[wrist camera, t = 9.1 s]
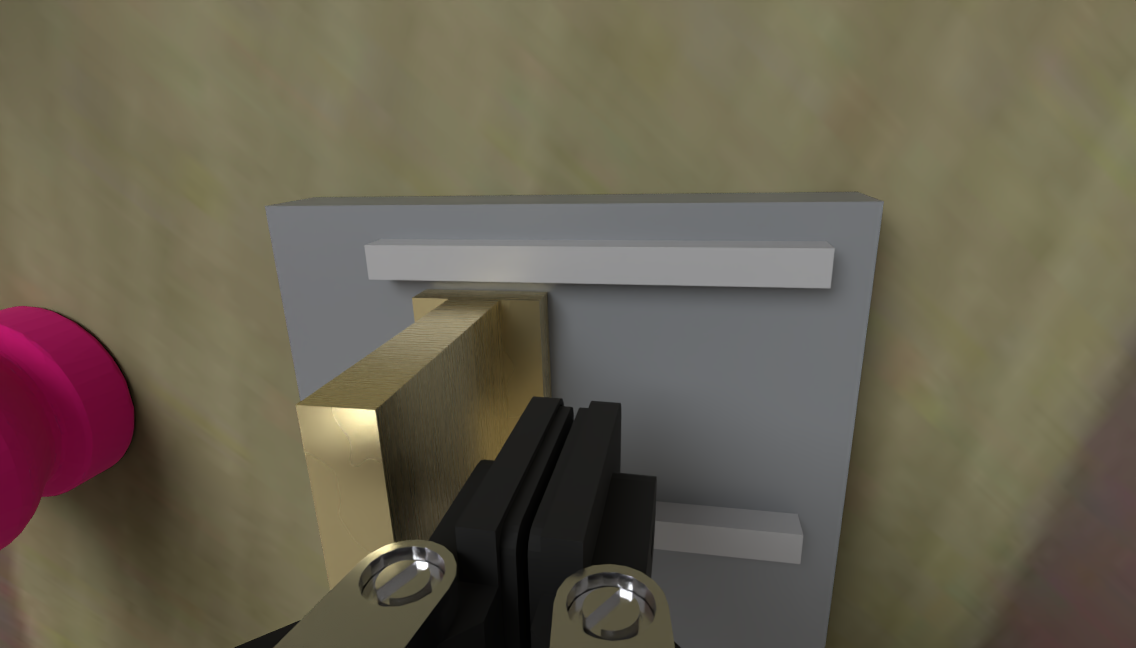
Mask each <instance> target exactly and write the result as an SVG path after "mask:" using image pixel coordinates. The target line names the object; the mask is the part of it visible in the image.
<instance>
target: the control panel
mask: <svg viewBox="0 0 1136 648" xmlns="http://www.w3.org/2000/svg"><path fill="white" fill-rule="evenodd" d="M883 203H884V201H881V200H878V199H875V198H873V197H870V196H867V195H865V194H862V193H859V192H798V193H701V194H604V195H508V196H411V197H315V198H308V199H302V200H297V201H291V202H285V203H280V204H274V205H268V206H265V209H266V215H267V220H268V225H269V231H270V236H271V242H272V247H273V253H274V258H275V264H276V269H277V275H278V280H279V286H280V291H281V297H282V302H283V308H284V313H285V318H286V324H287V329H288V335H289V340H290V346H291V351H292V357H293V362H294V368H295V373H296V379H297V384H298V390H299V395H300V400H301V401H302V400H304V399H305V398H306V397H308V396H309V395H311V394H312V393H314V392H315V391H317V390H318V389H319V388H321V387H322V386H324V385H325V384H327V383H328V382H329V381H331V380H332V379H334V378H335V377H337V376H338V375H340V374H341V373H342V372H344V371H345V370H347V369H348V368H350V367H351V366H353V365H354V364H355V363H357V362H358V361H360V360H361V359H363V358H364V357H366V356H367V355H368V354H370V353H371V352H373V351H374V350H376V349H377V348H379V347H380V346H381V345H383V344H384V343H386V342H387V341H389V340H390V339H392V338H393V337H394V336H396V335H397V334H399V333H400V332H402V331H403V330H405V329H406V328H407V327H409V326H410V325H412V324H413V323H415V320H414V312H413V303H412V298H413V297H414V296H416V295H418V294H419V293H421V292H423V291H424V290H426V289H444V290H488V291H533V292H548V317H549V341H550V365H551V390H552V398H562V399H563V402H564V406H567V407H573V411H574V419H575V417H576V414H577V412H578V409H579V408H580V407H581V408H589V405H590V402H591V401H603V402H616V403H621V468H620V473H628V474H638V475H648V476H657V491H656V515H655V535H654V550H653V563H652V574H651V579H653V580H654V581H655V582H656V583H657V584H658V586H659V587H660V588H661V589H662V591H663V592H664V594H665V597H666V600H667V602H668V605H669V611H670V618H671V625H672V631H673V638H674V642H675V643H677V644H678V645H679V646H680V647H681V648H825V644H826V637H827V629H828V621H829V614H830V606H831V599H832V591H833V583H834V576H835V568H836V560H837V553H838V545H839V538H840V530H841V522H842V515H843V507H844V500H845V492H846V484H847V477H848V469H849V462H850V454H851V446H852V439H853V431H854V424H855V416H856V408H857V401H858V393H859V386H860V378H861V370H862V363H863V355H864V348H865V340H866V332H867V325H868V317H869V310H870V302H871V294H872V287H873V279H874V271H875V264H876V256H877V249H878V241H879V233H880V226H881V218H882V211H883Z"/></svg>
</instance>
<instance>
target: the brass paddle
mask: <svg viewBox="0 0 1136 648" xmlns="http://www.w3.org/2000/svg"><path fill="white" fill-rule="evenodd" d="M412 303H413V312H414V320H415V323H413V324H412V325H410V326H409V327H407V328H406V329H405V330H403V331H402V332H400V333H399V334H397V335H396V336H394V337H393V338H392V339H390V340H389V341H387V342H386V343H384V344H383V345H381V346H380V347H379V348H377V349H376V350H374V351H373V352H371V353H370V354H368V355H367V356H366V357H364V358H363V359H361V360H360V361H358V362H357V363H355V364H354V365H353V366H351V367H350V368H348V369H347V370H345V371H344V372H342V373H341V374H340V375H338V376H337V377H335V378H334V379H332V380H331V381H329V382H328V383H327V384H325V385H324V386H322V387H321V388H319V389H318V390H317V391H315V392H314V393H312V394H311V395H309V396H308V397H306V398H305V399H304V400H302V401H301V402H299V403H298V404H296V409H297V414H298V420H299V425H300V430H301V436H302V441H303V447H304V452H305V457H306V463H307V468H308V473H309V479H310V484H311V490H312V495H313V500H314V506H315V511H316V516H317V522H318V527H319V533H320V538H321V543H322V549H323V554H324V559H325V565H326V570H327V576H328V581H329V586H330V591H331V590H332V589H333V588H334V587H335V586H336V585H337V584H338V583H339V582H340V581H341V580H342V579H343V578H344V577H345V576H346V575H347V574H348V573H349V572H350V571H351V570H352V569H353V568H354V567H355V566H356V565H357V564H358V563H359V562H360V561H361V560H362V559H364V558H365V557H366V556H367V555H369V554H370V553H371V552H373V551H375V550H377V549H379V548H381V547H383V546H385V545H389V544H392V543H396V542H399V541H406V540H417V539H418V540H426V541H428V540H429V539H430V537H431V535H432V534H433V532H434V531H435V529H436V528H437V526H438V524H439V523H440V521H441V520H442V518H443V517H444V515H445V514H446V512H447V510H448V509H449V507H450V506H451V504H452V503H453V501H454V500H455V498H456V496H457V495H458V493H459V492H460V490H461V489H462V487H463V486H464V484H465V482H466V481H467V479H468V478H469V476H470V475H471V473H472V472H473V470H474V468H475V467H476V465H477V464H478V463H479V462H480V461H481V460H484V459H485V460H495V459H496V457H497V455H498V454H499V452H500V450H501V449H502V447H503V445H504V444H505V442H506V440H507V439H508V437H509V435H510V434H511V432H512V430H513V429H514V427H515V425H516V424H517V422H518V420H519V418H520V417H521V415H522V413H523V412H524V410H525V408H526V407H527V405H528V403H529V402H530V400H531V398H532V397H533V396H536V397H549V398H552V390H551V365H550V341H549V317H548V292H533V291H488V290H444V289H426V290H424V291H423V292H421V293H419V294H418V295H416V296H414V297H413V298H412Z"/></svg>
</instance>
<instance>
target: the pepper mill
mask: <svg viewBox="0 0 1136 648" xmlns="http://www.w3.org/2000/svg"><path fill="white" fill-rule="evenodd" d="M133 431H134V406H133V403H132V399H131V396H130V393H129V389H128V386H127V383H126V380H125V378H124V377H123V375H122V373H121V371H120V369H119V367H118V366H117V364H116V363H115V361H114V360H113V358H112V357H111V356H110V354H109V353H108V352H107V351H106V350H105V348H104V347H103V346H102V345H101V344H100V343H99V341H98V340H97V339H96V338H95V337H93V336H92V335H91V334H90V333H88V332H87V331H86V330H84V329H83V328H82V327H81V326H79V325H78V324H77V323H75V322H73V321H71V320H69V319H67V318H65V317H63V316H61V315H59V314H58V313H56V312H54V311H50V310H46V309H43V308H37V307H27V306H18V307H12V308H7V309H3V310H0V550H1V549H3V548H4V547H6V546H7V545H8V544H10V543H11V542H12V541H13V540H14V539H15V538H16V537H17V536H18V535H19V534H20V533H21V532H22V531H23V529H24V528H25V527H26V525H27V524H28V522H29V521H30V519H31V518H32V516H33V515H34V513H35V511H36V509H37V507H38V505H39V502H40V499H41V497H49V496H57V495H60V494H62V493H65V492H68V491H70V490H71V489H73V488H75V487H77V486H78V485H80V484H82V483H84V482H86V481H87V480H89V479H91V478H93V477H94V476H96V475H98V474H100V473H101V472H103V471H105V470H107V469H108V468H110V467H112V466H113V465H114V464H116V463H117V462H118V461H119V460H120V459H121V458H122V457H123V456H124V454H125V452H126V450H127V448H128V447H129V445H130V443H131V440H132V436H133Z"/></svg>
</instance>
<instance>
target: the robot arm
mask: <svg viewBox="0 0 1136 648" xmlns="http://www.w3.org/2000/svg"><path fill="white" fill-rule="evenodd" d="M620 468H621V403H616V402H603V401H591V402H590V405H589V408H581V407H580V408H579V409H578V412H577V414H576V417H575V419H574V411H573V407H567V406H564V402H563V399H562V398H549V397H536V396H533V397H532V398H531V400H530V402H529V403H528V405H527V407H526V408H525V410H524V412H523V413H522V415H521V417H520V418H519V420H518V422H517V424H516V425H515V427H514V429H513V430H512V432H511V434H510V435H509V437H508V439H507V440H506V442H505V444H504V445H503V447H502V449H501V450H500V452H499V454H498V455H497V457H496V459H495V460H485V459H484V460H481V461H480V462H479V463H478V464H477V465H476V467H475V468H474V470H473V472H472V473H471V475H470V476H469V478H468V479H467V481H466V482H465V484H464V486H463V487H462V489H461V490H460V492H459V493H458V495H457V496H456V498H455V500H454V501H453V503H452V504H451V506H450V507H449V509H448V510H447V512H446V514H445V515H444V517H443V518H442V520H441V521H440V523H439V524H438V526H437V528H436V529H435V531H434V532H433V534H432V535H431V537H430V539H429V540H428V541H426V540H418V539H417V540H406V541H399V542H396V543H392V544H389V545H385V546H383V547H381V548H379V549H377V550H375V551H373V552H371V553H370V554H369V555H367V556H366V557H365V558H364V559H362V560H361V561H360V562H359V563H358V564H357V565H356V566H355V567H354V568H353V569H352V570H351V571H350V572H349V573H348V574H347V575H346V576H345V577H344V578H343V579H342V580H341V581H340V582H339V583H338V584H337V585H336V586H335V587H334V588H333V589H332V590H331V591H330V592H329V593H328V594H327V595H326V596H325V597H324V598H323V599H322V600H321V601H320V602H319V603H318V604H317V605H316V606H315V607H314V608H313V609H312V610H311V611H310V612H309V613H308V614H307V615H306V616H305V617H304V618H303V619H302V620H300V621H297V622H295V623H292V624H290V625H288V626H285V627H283V628H280V629H278V630H276V631H273V632H271V633H268V634H266V635H263V636H261V637H259V638H256V639H254V640H251V641H249V642H247V643H244V644H242V645H239V646H237V647H235V648H681V647H680V646H679V645H678V644H677V643H675V642H674V638H673V631H672V625H671V618H670V611H669V605H668V602H667V600H666V597H665V594H664V592H663V591H662V589H661V588H660V587H659V586H658V584H657V583H656V582H655V581H654V580H653V579H651V574H652V563H653V550H654V535H655V515H656V491H657V476H648V475H638V474H628V473H620Z"/></svg>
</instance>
